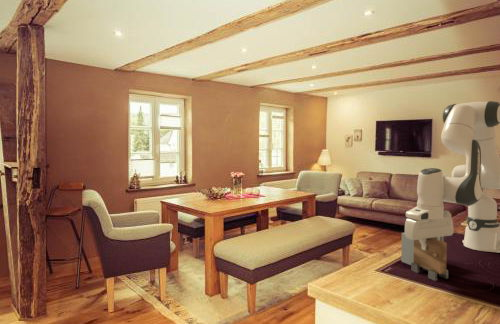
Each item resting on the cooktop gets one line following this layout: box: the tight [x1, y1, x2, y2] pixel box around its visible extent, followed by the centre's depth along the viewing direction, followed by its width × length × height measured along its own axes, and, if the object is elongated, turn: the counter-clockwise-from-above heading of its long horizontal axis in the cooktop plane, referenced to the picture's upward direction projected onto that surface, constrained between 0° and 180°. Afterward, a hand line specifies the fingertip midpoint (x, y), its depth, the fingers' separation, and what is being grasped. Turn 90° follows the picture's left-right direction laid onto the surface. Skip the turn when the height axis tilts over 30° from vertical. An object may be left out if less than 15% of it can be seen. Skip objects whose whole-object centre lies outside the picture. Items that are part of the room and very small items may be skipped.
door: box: [414, 238, 448, 275], centre depth 127 cm, size 4×12×11 cm, turn 19°
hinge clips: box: [410, 263, 449, 282], centre depth 128 cm, size 6×11×3 cm, turn 19°
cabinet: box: [400, 232, 445, 268], centre depth 141 cm, size 14×8×12 cm, turn 109°
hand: (429, 249), depth 127 cm, fingers closed on door, 3 cm apart
